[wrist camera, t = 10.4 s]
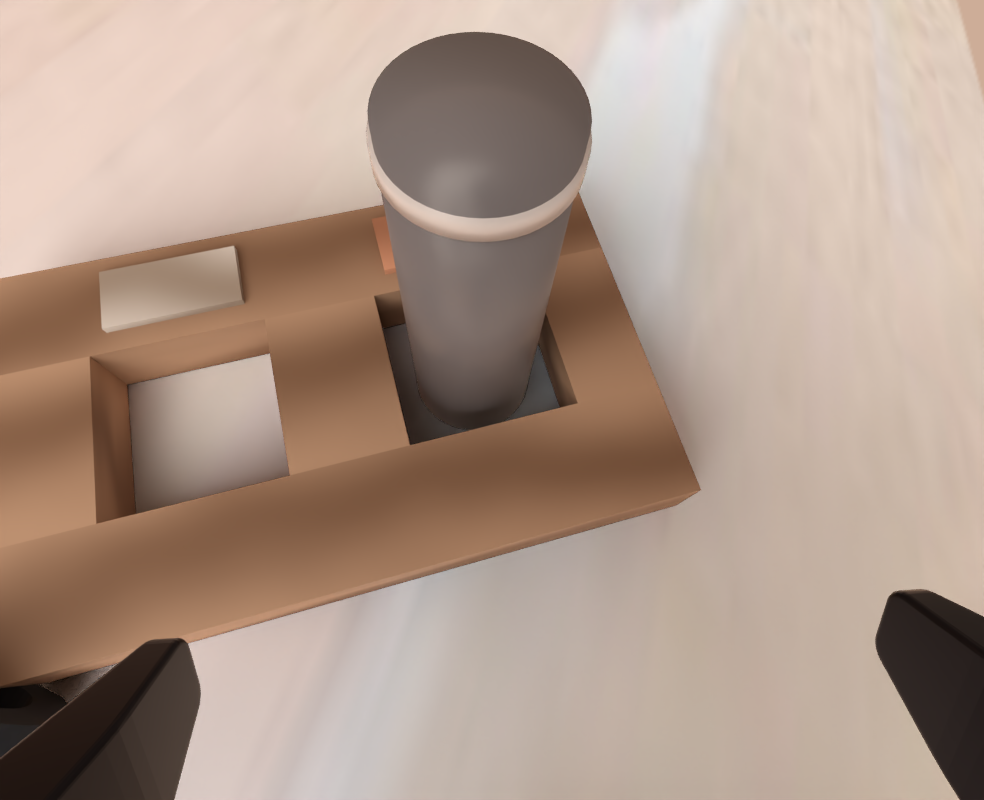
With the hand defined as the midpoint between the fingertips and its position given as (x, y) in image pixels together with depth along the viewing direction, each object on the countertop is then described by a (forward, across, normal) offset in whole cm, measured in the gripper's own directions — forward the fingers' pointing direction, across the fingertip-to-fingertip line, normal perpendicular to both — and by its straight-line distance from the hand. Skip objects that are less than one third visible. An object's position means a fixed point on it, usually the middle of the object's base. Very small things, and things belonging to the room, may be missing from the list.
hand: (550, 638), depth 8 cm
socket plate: (+16, +5, +4) cm, 17 cm away
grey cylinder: (+16, 0, +3) cm, 17 cm away
